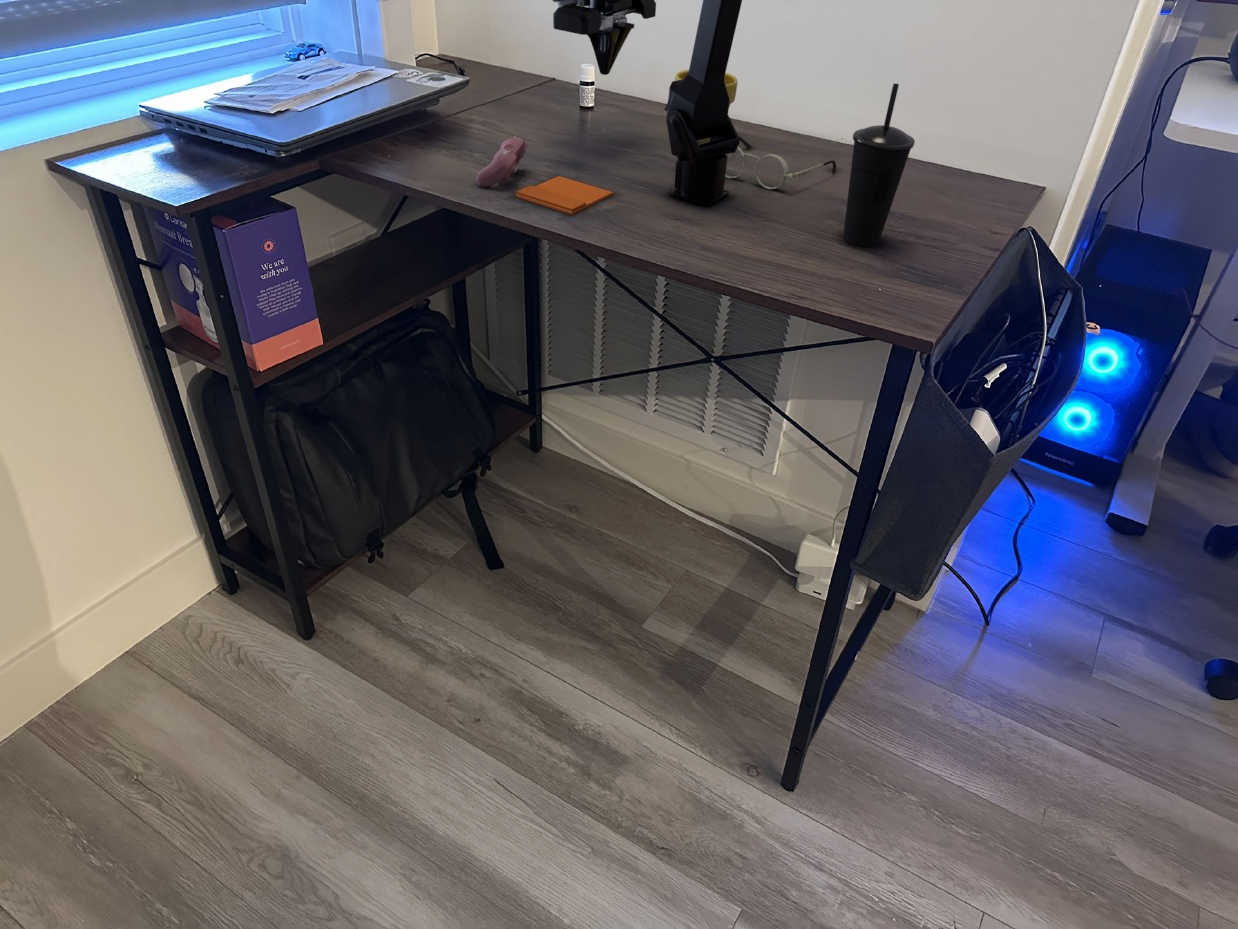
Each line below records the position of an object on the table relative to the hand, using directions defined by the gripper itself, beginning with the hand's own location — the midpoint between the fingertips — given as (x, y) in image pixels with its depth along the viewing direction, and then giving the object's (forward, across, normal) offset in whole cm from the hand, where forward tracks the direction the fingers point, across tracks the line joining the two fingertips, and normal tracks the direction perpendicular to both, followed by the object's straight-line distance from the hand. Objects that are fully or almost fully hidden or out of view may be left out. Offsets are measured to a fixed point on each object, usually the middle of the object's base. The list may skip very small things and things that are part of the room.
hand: (604, 74), depth 135 cm
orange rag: (+12, +19, +7) cm, 24 cm away
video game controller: (+12, +19, -4) cm, 23 cm away
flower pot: (+12, -18, +8) cm, 23 cm away
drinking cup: (+12, +5, +47) cm, 49 cm away
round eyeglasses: (+12, -11, +25) cm, 30 cm away
